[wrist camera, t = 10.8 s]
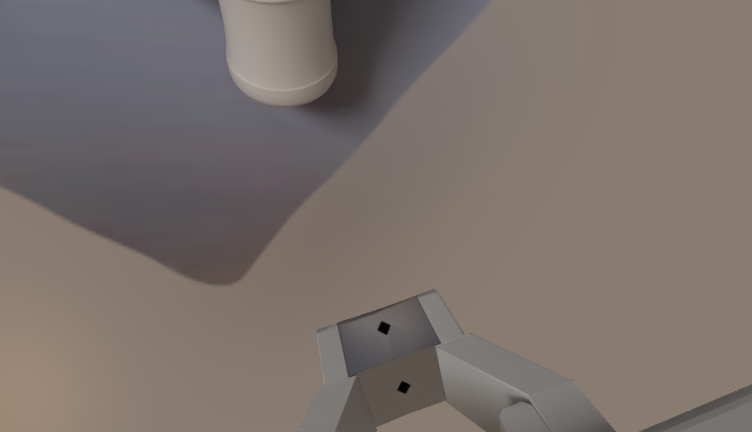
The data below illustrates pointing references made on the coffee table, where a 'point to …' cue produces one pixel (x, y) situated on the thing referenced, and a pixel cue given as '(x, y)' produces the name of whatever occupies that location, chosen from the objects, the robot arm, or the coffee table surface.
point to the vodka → (280, 49)
